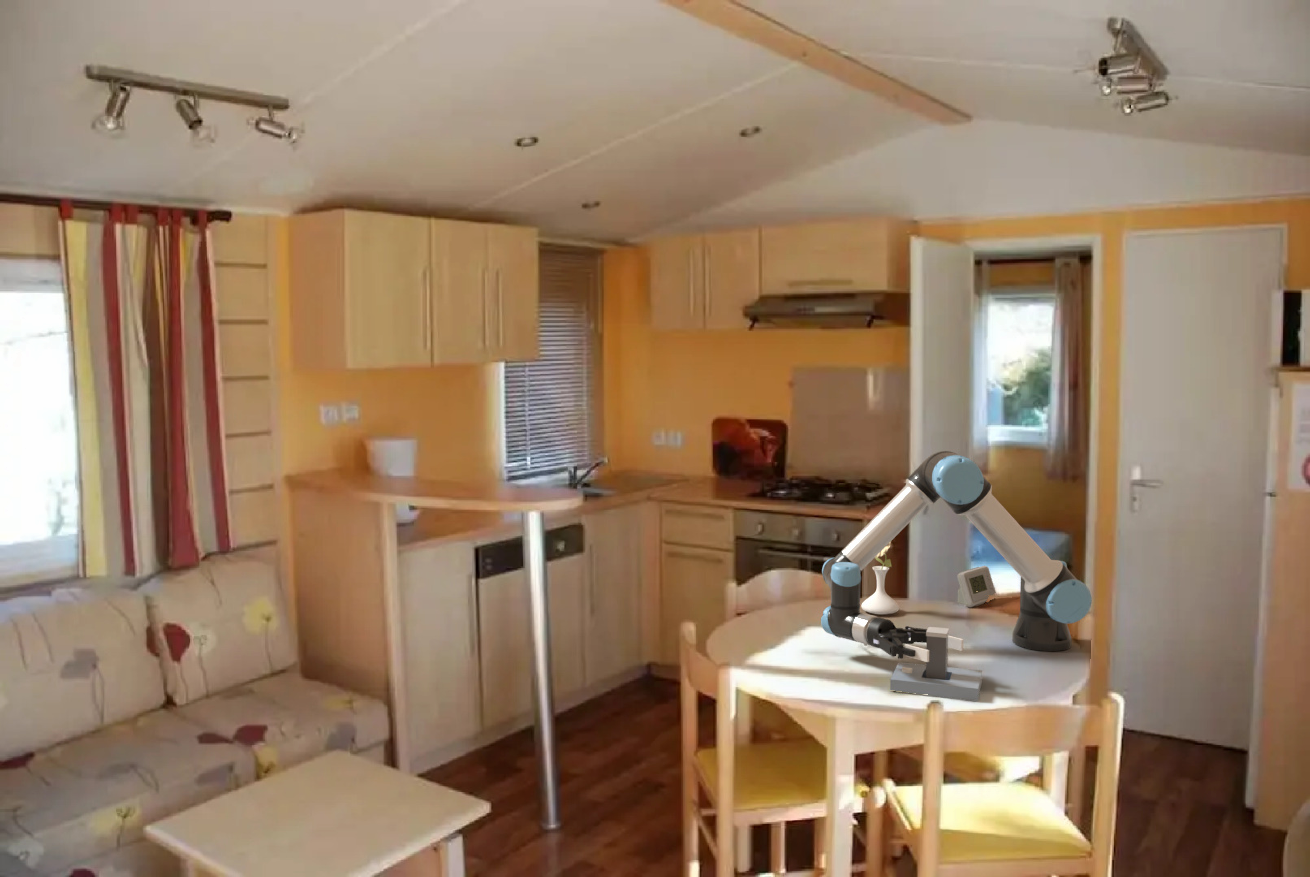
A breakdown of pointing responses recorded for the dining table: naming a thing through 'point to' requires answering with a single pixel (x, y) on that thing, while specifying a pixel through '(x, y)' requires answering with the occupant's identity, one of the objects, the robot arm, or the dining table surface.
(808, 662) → the dining table surface
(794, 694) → the dining table surface
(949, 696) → the socket plate
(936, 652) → the plug
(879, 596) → the flower in vase
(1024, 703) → the dining table surface
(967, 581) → the digital clock
